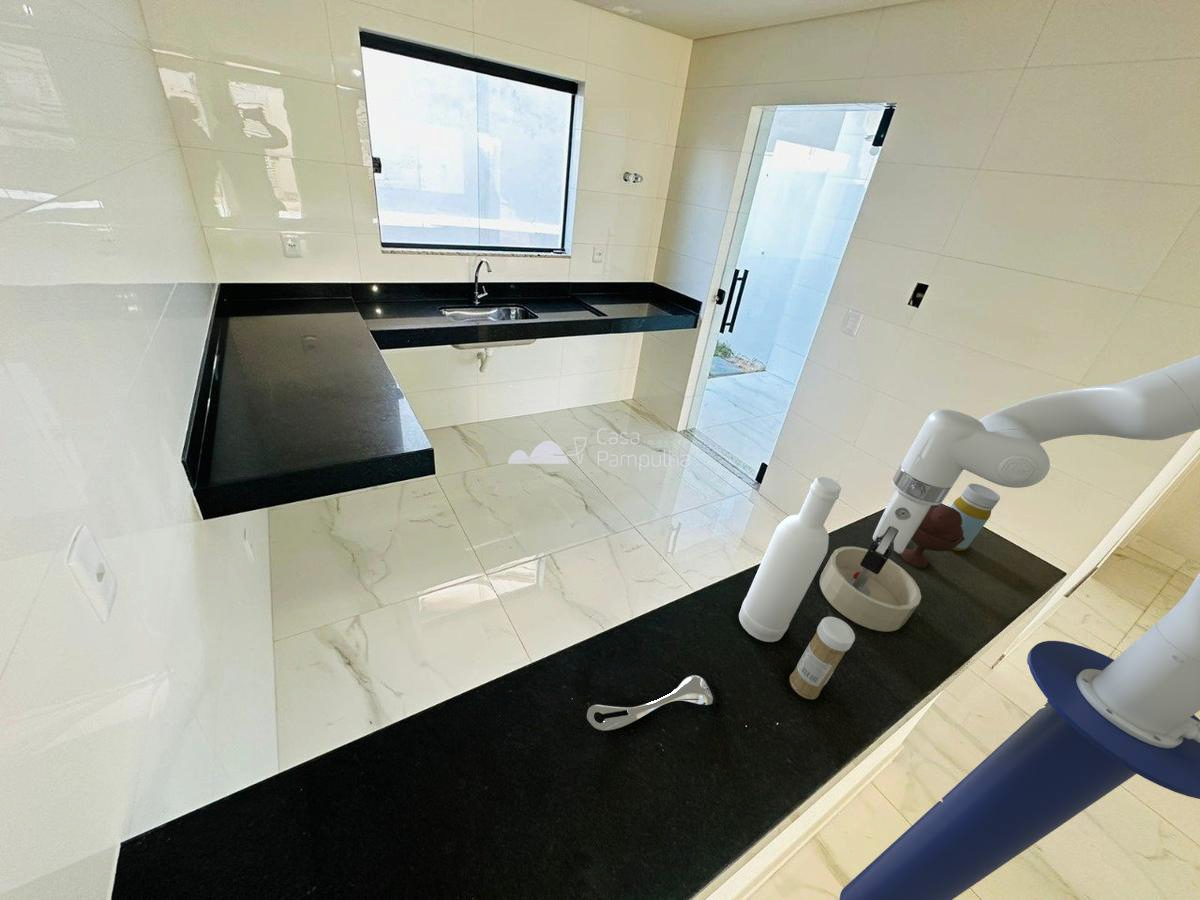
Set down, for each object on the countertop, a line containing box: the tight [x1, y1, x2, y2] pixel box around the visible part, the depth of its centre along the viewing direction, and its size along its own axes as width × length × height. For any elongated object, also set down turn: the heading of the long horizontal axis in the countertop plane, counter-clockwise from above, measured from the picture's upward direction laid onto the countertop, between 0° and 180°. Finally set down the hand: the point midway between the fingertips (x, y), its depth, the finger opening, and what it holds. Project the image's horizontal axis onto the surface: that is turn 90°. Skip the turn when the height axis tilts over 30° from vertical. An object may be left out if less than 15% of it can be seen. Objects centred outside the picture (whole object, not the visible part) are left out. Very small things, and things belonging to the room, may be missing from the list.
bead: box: [853, 572, 860, 579], centre depth 92 cm, size 2×2×2 cm
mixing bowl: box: [819, 546, 922, 632], centre depth 88 cm, size 16×16×6 cm
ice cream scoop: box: [585, 673, 717, 732], centre depth 64 cm, size 20×4×5 cm
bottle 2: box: [950, 483, 1001, 552], centre depth 106 cm, size 7×7×15 cm
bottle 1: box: [738, 476, 842, 643], centre depth 73 cm, size 8×8×30 cm
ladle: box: [845, 543, 880, 597], centre depth 85 cm, size 5×5×13 cm
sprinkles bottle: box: [789, 616, 856, 700], centre depth 67 cm, size 5×5×14 cm
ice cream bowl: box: [899, 505, 965, 568], centre depth 99 cm, size 11×11×15 cm
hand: (870, 565), depth 84 cm, fingers closed on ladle
